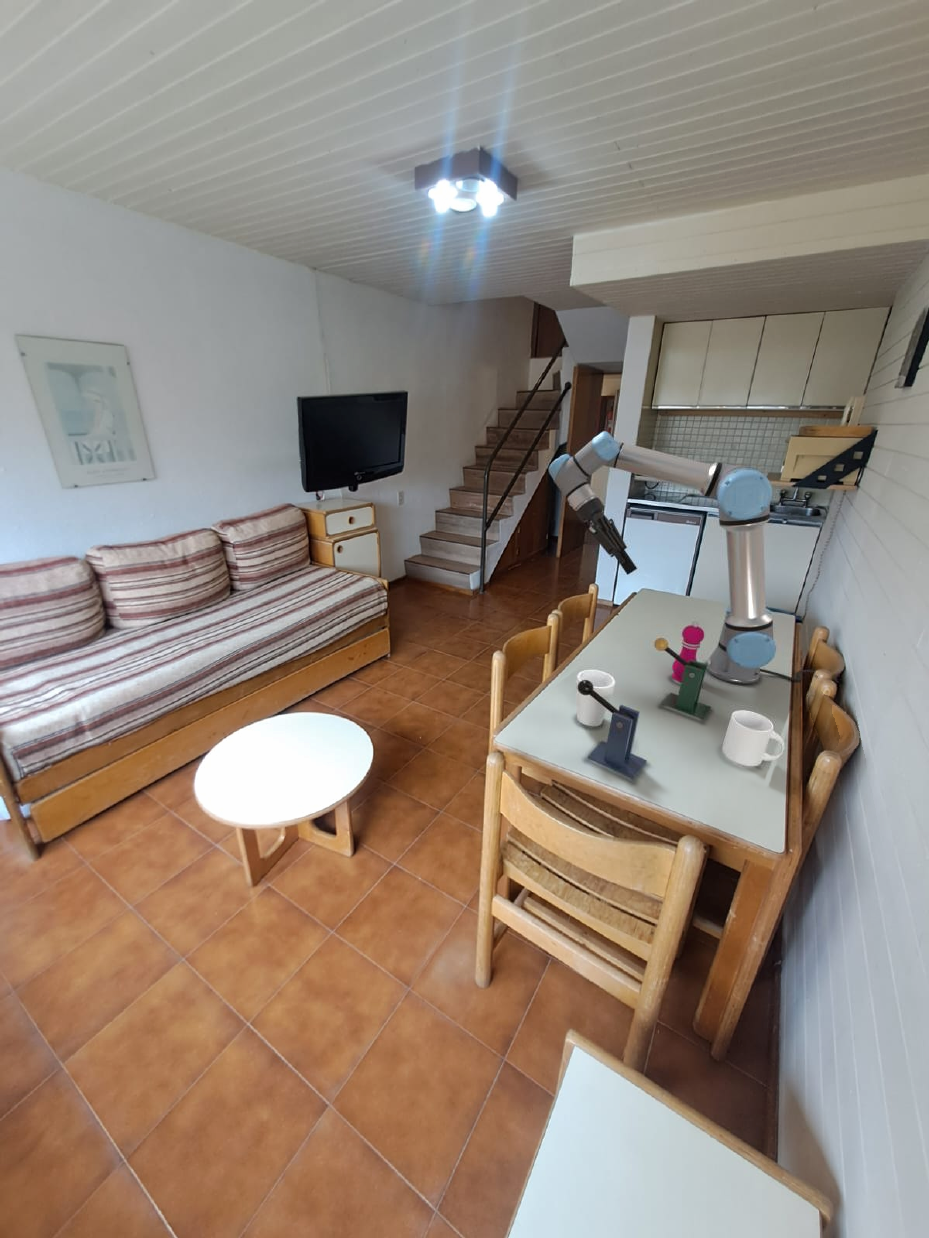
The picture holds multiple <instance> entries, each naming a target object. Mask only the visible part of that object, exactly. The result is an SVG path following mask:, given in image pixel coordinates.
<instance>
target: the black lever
mask: <svg viewBox="0 0 929 1238" xmlns="http://www.w3.org/2000/svg"><path fill="white" fill-rule="evenodd" d="M593 688H594V687H593V684H592V683H591V682H590V681H588V680H582V681H581V682H579V684H578V691H579V693H580V694H582V695H590V696H592V697H593V698H594V699H595V700H597V701H598V702H599V703H600V704H601V705H603V706H604V707H605V708H606V710H608V712H610V713H611V714H613V713H614V712H615V713H618V714H620V715H623V716H625V717H628V718H630V719H633V720H634V718H633V717H632V716H631V715H630V714H629V713H627V712H626V711H625V710H624V711H623V712H622V713H621V712H620V711H619V709H618V708H616V707H615V706H614V705H613V704H611V703H610V701H609V702H607V701H606V700H605V699H604V698H602V697H601V696H600V695H599V694H597V693H596V692H595V691H594V690H593Z"/></svg>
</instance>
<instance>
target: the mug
mask: <svg viewBox="0 0 929 1238" xmlns="http://www.w3.org/2000/svg"><path fill="white" fill-rule="evenodd" d="M770 739H772V740H774V741H777V742H778V743H779V744H780V746H781V751H780V752H779V753H777V754H769V753H767V752H766V751H767V748H768V745H769V742H770ZM785 744H786V743H785V741H784V739H783V738H782V737H781V736H780V734H779V733H778V732H776V731H774V724H773V722H772V721H771V720H770V719H769V718H767V717H766V716H764V715H762V714H760V713H757V712H755V711H751V710H745V709H740V710H735V711H733V712H732V713H731V715H730V720H729V722H728V726H727V729H726V732H725V736H724V739H723V743H722V746H721V752H722V753H723V754H724V756H725V757H726V758H727V759H728V760H731V761H733V763H736V764H739V765H742V766H746V767H756V766H757V767H758V766H760V765H761V764H762V762H763V761H765V762H771V761H775V760H777V759H779V758H781V756H783V753H784V752H785V748H786V745H785Z"/></svg>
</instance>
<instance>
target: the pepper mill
mask: <svg viewBox="0 0 929 1238" xmlns="http://www.w3.org/2000/svg"><path fill="white" fill-rule="evenodd" d="M699 625H700V623H699V622H698V621H696V620H695V621H692V623H691V625H687V626H685V627H684V628H683V629H682V632H681V636H682V640H681V646H682V647H681V651H680V652H679V654H678V655H679V656H680V657H682V658H683V659H684V660H685V661H687V662H688V663H689V661H690V660H694V661H697V662H698V660H697V652H698V650H699V649H700V648H701V642H702V641H703V640H704V638H705V632H704V630H703V628H702V627H701V626H699ZM671 669H672V671H673V672H672V674H671V678H672V679H673V680H675V681H676V682H679V683H681V681H682V677H683V673H684V669H685V666H684V665H682V664H681V663H680V662H679V661H677V660H676V659H674V661H673V663H672V666H671Z"/></svg>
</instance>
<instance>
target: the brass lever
mask: <svg viewBox="0 0 929 1238" xmlns="http://www.w3.org/2000/svg"><path fill="white" fill-rule="evenodd" d="M653 646H654V648H655V649H656V650H657V651H659V652H663V651H664V652H666V653H667V654H669V655H670V656H671V657H672V658H674V660H677V661H679V662H680V663H681V664H682V665H684V666H686V665H689V666H692V667H695V668H698V669H701V668H700V667H698V666H697V665H696V664H693V665H690V664H689V663H688V662H687V661H685V660H684V659H683V658H682V657H680V656H679V655H680V654H678V653H676V652H675V651H674V650H673V649H671V647H669V642H668V641H667V639H665V638H663V637H659V638H657V639H655V640H654V642H653ZM701 670H702V669H701Z"/></svg>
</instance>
